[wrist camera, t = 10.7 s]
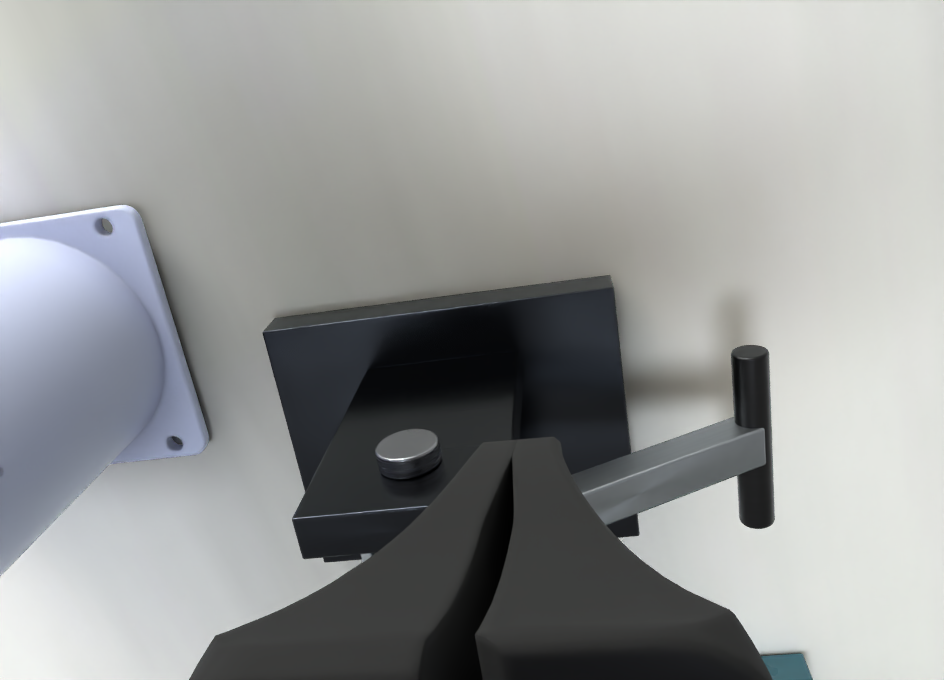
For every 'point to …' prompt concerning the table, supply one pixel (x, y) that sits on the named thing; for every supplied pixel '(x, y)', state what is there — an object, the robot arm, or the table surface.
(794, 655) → the button box
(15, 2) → the table surface
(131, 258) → the robot arm
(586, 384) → the bracket
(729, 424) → the lever
